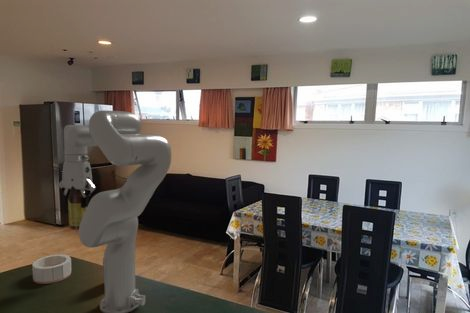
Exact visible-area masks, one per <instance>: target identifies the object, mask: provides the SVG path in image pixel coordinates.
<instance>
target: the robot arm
mask: <svg viewBox="0 0 470 313" xmlns="http://www.w3.org/2000/svg"><path fill="white" fill-rule="evenodd" d="M142 126H143V125H142V121H141V119H140V117H139V116H138V115H137V114H135V113H133V112H131V111H130V112H129V111H124V110H123V111H122V110H102V109H101V110H98V111H95V112H94V113H93V114H92V115H91V116H90V118H89V121H88V124H85V125H84V124H67V125H65V126H64V127H63V139H64V140H63V144H64V145H63V146H64V162H63V165H62V174H61V180H60V181H59V183H57V184H58V187H59V188H60V189H61V192H63V195H64V196H65V206H66V207H68V196H69V192H70V189H71V187H72V186H73V187H74V188H75V189H77V190H80V191H81V193H82V196H83V197H81V207H82V208H85V207H87V209H86V211H85V213H84V216H83V218H82V220H81V223H80V226H79V230H78V238H79V241H80V242H81V244H82V245H84V246H85V247H87V248H90V249H93V248H97V247H102V246H104V245H106V247H105V249H104V253H103V258H104V280H103V286H104V297H103V298H102V299H101V301H99V310H100V311H101V312H102V313H129V312H133V311H134V310H135V309H137V308H138V307H139V306H145V304H146V294H140V292H139V288H136V241H137V235H138V230H139V218H138V217H139V216H140V215H142V213H143V212H144V210H145V208H146V207H147V205H148V203H149V202H150V199H151V198H152V197H153V195H154V193H155V191H156V189H157V188H158V186H159V185H160V184H161V183H162V182H163V180H164V178H165V177H166V175H167V173H168V172H169V169H170V167H171V164H172V147H171V145H170V142H169V140H168V139H166V138H165V137H164V136H162V135H159V134H154V133H141V131H142ZM88 147H98V148H99V150H100V151H101V152H102V153H103V155H104V156H105V158H106V159H107V161H109V163H111V164H112V165H115V166H118V167H125V166H126V167H128V166H136V165H137V166H138V165H139V166H138V167H137V168H136V169H134V170H133V171H132V172H131V173H130V174H129V176H128V177H127V179H126V181H125V183H124V184H123V185H122V187H120V188H116V189H110V190H105V191H100V192H97V193H96V194H94V196H92V198H91V199H89V198H90V196H91V194H92V193H93V192H94V191H95V190H96V188H97V187H96V186H95V184H94V183H93V175H92V167H91V163H90V162H89V161H88V160H90V156H89V155H88ZM71 179H73V181H71Z"/></svg>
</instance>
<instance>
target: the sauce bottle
mask: <svg viewBox="0 0 470 313" xmlns="http://www.w3.org/2000/svg"><path fill="white" fill-rule="evenodd" d="M71 181H73V179H71ZM81 197H83V196H82V193H81V191H80V190H77V189H75V188H74V187H73V186H72V187H71V189H70V192H69V196H68V206H67V210H68V211H67V212H68V214H67V215H68V225H69V228H70V230H74V231H77V230H78V231H79V226H80V223H81V220H82V218H83V216H84V213H85V211H86V209H87V207H88V206H87V207H85V208H82V207H81Z"/></svg>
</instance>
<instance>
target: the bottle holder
mask: <svg viewBox="0 0 470 313" xmlns="http://www.w3.org/2000/svg"><path fill="white" fill-rule="evenodd" d="M31 264H32V280H33V282H34V283H35V284H38V285H39V284H40V285H49V284H55V283H59V282H61V281H64V280H65V279H68V278H70V276H71V275H72V258H71V256H70V255H68V254H62V253H61V254H60V253H59V254H50V255H47V256H43V257H40V258H37V259H36V260H34V261H33V263H31Z"/></svg>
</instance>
